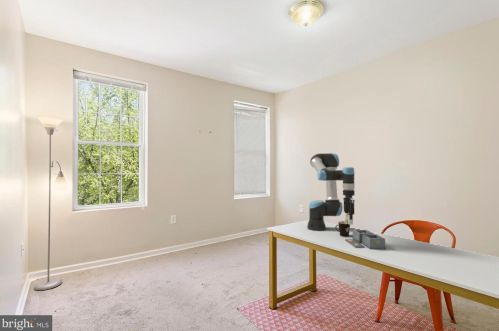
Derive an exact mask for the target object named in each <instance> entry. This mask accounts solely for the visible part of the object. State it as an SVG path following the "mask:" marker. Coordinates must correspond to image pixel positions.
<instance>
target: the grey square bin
mask: <svg viewBox="0 0 499 331" xmlns="http://www.w3.org/2000/svg"><path fill="white" fill-rule="evenodd" d="M367 234H375V233H373V232H372V231H370V230H368V229H353V230H352V239H354V240H355V241H357V242H359V243H360V244H362V235H367Z"/></svg>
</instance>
